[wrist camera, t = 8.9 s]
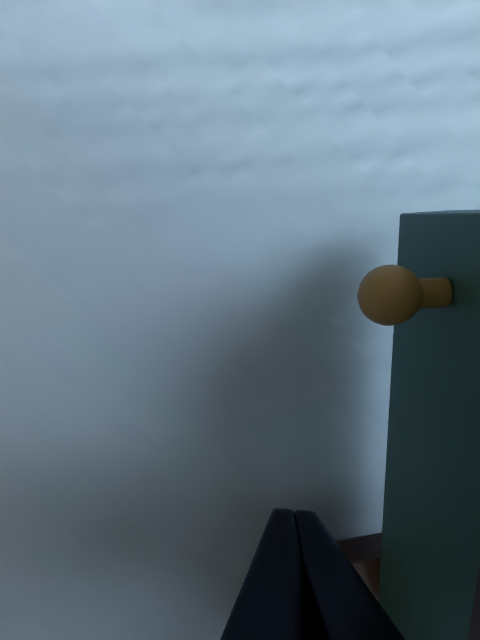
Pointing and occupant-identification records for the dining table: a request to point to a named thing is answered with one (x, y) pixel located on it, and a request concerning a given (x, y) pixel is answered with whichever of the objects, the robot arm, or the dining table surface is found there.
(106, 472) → the dining table surface
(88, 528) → the dining table surface
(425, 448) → the door
